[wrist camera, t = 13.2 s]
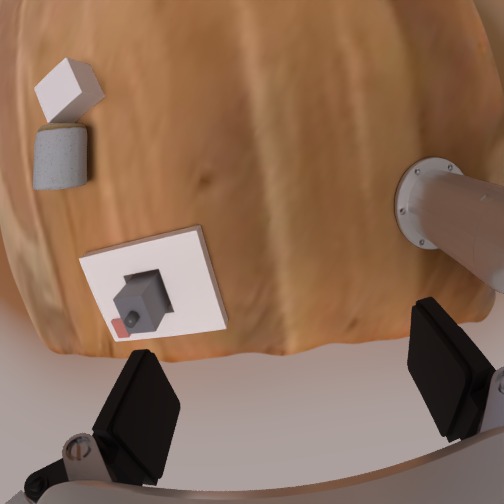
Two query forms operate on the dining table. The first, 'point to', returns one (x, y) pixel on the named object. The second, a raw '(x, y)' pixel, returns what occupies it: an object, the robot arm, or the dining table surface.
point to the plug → (143, 302)
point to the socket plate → (174, 277)
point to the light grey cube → (68, 91)
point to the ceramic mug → (60, 156)
